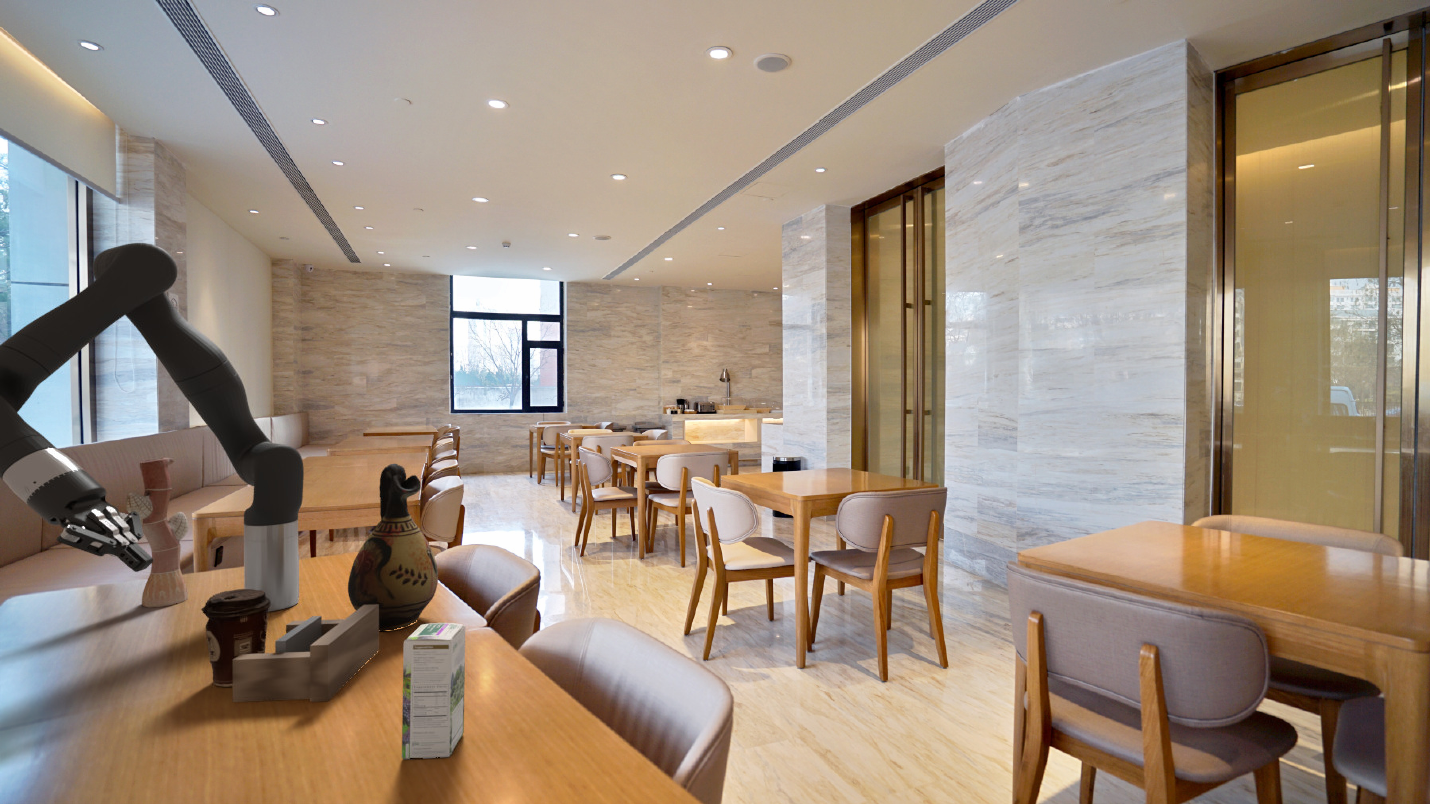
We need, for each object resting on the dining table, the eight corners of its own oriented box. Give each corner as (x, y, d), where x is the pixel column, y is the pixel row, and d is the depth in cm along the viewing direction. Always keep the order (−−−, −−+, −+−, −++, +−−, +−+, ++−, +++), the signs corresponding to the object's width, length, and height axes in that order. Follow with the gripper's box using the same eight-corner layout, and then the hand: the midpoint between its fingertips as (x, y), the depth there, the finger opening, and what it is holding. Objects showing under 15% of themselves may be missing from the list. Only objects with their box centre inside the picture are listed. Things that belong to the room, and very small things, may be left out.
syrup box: (418, 735, 84) (418, 622, 84) (466, 734, 85) (465, 621, 85) (401, 760, 79) (400, 639, 78) (452, 758, 79) (451, 638, 79)
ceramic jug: (452, 622, 126) (452, 465, 125) (366, 644, 115) (365, 472, 114) (415, 602, 138) (414, 459, 137) (333, 621, 126) (332, 464, 126)
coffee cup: (195, 695, 95) (194, 606, 95) (207, 674, 102) (207, 590, 102) (267, 683, 99) (267, 597, 99) (274, 663, 106) (274, 583, 106)
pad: (275, 688, 96) (275, 641, 96) (312, 659, 107) (312, 616, 107) (285, 688, 96) (285, 640, 96) (321, 658, 107) (321, 615, 107)
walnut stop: (228, 705, 92) (228, 648, 92) (296, 654, 110) (295, 606, 110) (328, 701, 94) (327, 644, 93) (378, 651, 111) (378, 604, 111)
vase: (185, 593, 143) (184, 455, 142) (196, 600, 138) (195, 457, 138) (121, 606, 134) (119, 459, 134) (130, 613, 130) (128, 461, 130)
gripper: (33, 473, 91) (130, 559, 93) (110, 463, 104) (194, 539, 106) (-9, 512, 91) (89, 598, 92) (74, 497, 104) (159, 572, 105)
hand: (145, 566), depth 99 cm, fingers closed
